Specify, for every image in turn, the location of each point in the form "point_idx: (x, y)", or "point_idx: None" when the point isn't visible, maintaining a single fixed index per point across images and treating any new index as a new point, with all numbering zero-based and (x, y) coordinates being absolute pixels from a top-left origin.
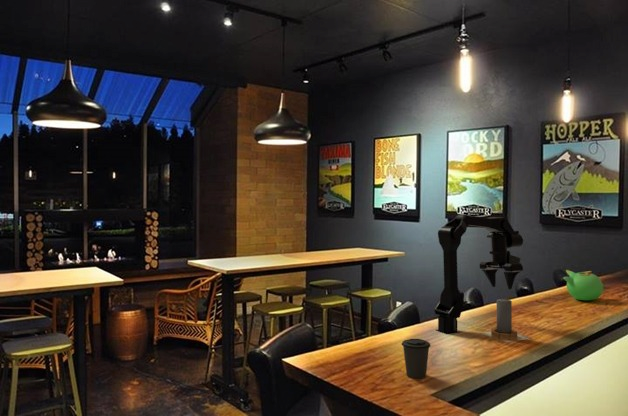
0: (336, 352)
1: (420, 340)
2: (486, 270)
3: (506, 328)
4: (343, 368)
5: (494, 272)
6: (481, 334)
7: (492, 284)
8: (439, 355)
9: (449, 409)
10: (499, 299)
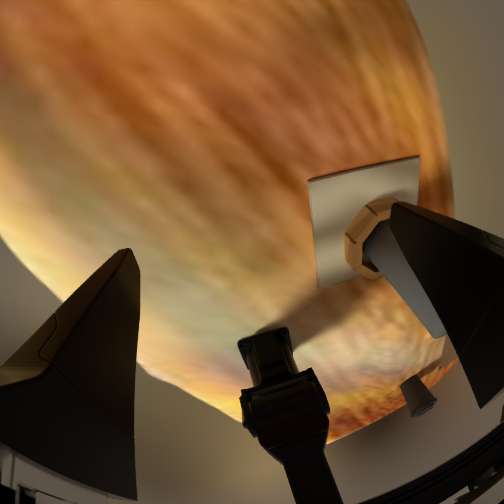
0: None
1: (427, 408)
2: (134, 495)
3: None
4: (354, 424)
5: (52, 405)
6: (331, 285)
7: (139, 298)
8: (381, 367)
9: (458, 358)
10: (435, 326)
